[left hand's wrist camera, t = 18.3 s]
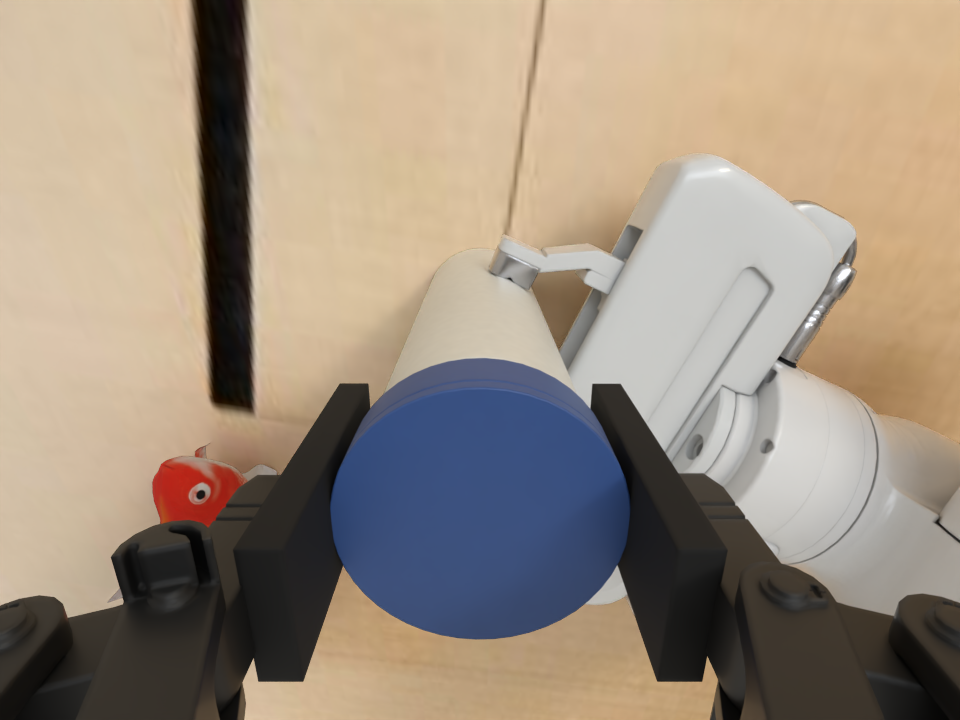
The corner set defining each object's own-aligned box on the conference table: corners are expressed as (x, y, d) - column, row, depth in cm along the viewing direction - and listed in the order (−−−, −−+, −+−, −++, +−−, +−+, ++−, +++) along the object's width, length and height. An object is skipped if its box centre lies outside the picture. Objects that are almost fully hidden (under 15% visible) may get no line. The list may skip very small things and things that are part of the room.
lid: (589, 328, 11) (607, 355, 9) (628, 560, 13) (649, 613, 11) (311, 390, 11) (285, 425, 10) (391, 604, 13) (379, 660, 12)
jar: (407, 308, 29) (300, 519, 12) (471, 225, 27) (455, 326, 10) (488, 368, 30) (499, 639, 13) (553, 291, 28) (664, 482, 11)
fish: (374, 470, 27) (223, 666, 20) (365, 589, 38) (266, 742, 31) (205, 378, 29) (14, 527, 22) (243, 516, 40) (124, 645, 33)
